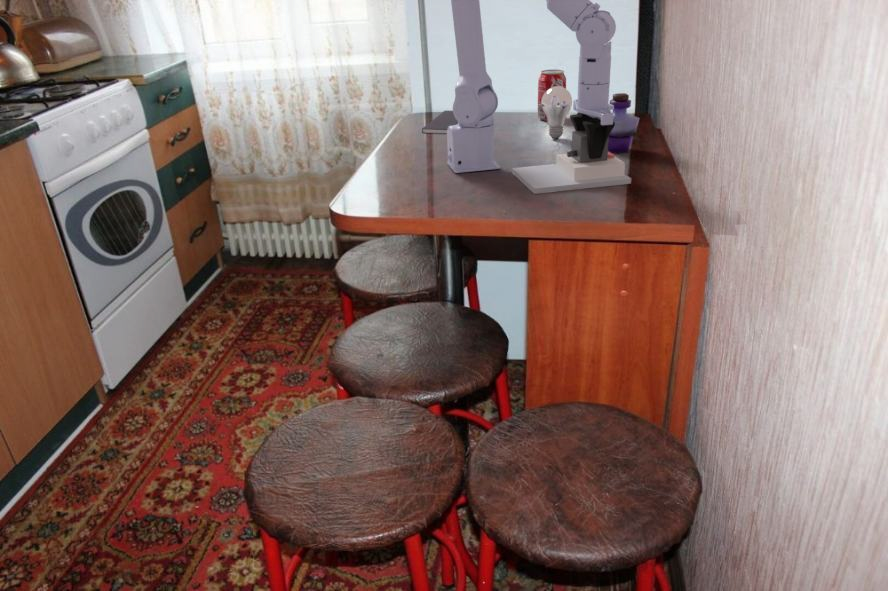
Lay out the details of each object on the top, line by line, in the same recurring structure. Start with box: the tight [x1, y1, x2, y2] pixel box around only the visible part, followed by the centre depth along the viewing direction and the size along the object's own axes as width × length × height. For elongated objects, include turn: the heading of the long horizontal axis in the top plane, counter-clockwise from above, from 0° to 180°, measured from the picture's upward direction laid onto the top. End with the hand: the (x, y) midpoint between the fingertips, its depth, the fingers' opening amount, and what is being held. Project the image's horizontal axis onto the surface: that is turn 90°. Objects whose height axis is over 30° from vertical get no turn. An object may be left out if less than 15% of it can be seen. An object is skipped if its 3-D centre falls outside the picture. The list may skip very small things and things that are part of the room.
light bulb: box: [541, 86, 573, 140], centre depth 165 cm, size 7×7×12 cm
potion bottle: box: [608, 92, 641, 154], centre depth 154 cm, size 9×9×12 cm
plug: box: [566, 130, 609, 163], centre depth 138 cm, size 4×7×6 cm, turn 102°
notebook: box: [421, 110, 458, 134], centre depth 186 cm, size 13×2×21 cm
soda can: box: [537, 69, 567, 122], centre depth 183 cm, size 7×7×12 cm
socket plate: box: [555, 152, 626, 181], centre depth 139 cm, size 10×10×3 cm
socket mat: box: [511, 163, 632, 195], centre depth 139 cm, size 19×14×1 cm
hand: (590, 154), depth 138 cm, fingers closed on plug, 4 cm apart
